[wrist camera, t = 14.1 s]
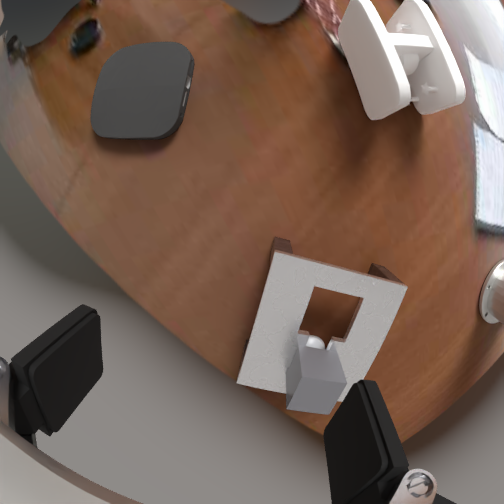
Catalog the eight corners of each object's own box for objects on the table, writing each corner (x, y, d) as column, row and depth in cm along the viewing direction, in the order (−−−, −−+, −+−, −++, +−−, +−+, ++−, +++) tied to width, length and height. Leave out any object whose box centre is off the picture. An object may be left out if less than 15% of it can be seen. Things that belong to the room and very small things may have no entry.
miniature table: (383, 266, 36) (407, 286, 28) (339, 369, 40) (349, 402, 33) (274, 236, 36) (274, 251, 28) (242, 349, 41) (236, 383, 33)
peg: (332, 337, 34) (347, 383, 25) (319, 366, 35) (328, 414, 26) (296, 329, 34) (302, 376, 25) (284, 359, 35) (286, 409, 26)
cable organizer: (331, 30, 28) (349, -14, 17) (394, 30, 27) (425, -6, 15) (365, 123, 31) (402, 102, 20) (427, 117, 30) (474, 101, 19)
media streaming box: (114, 54, 31) (105, 48, 28) (200, 47, 30) (195, 38, 27) (95, 139, 35) (84, 138, 32) (181, 141, 34) (173, 138, 31)
